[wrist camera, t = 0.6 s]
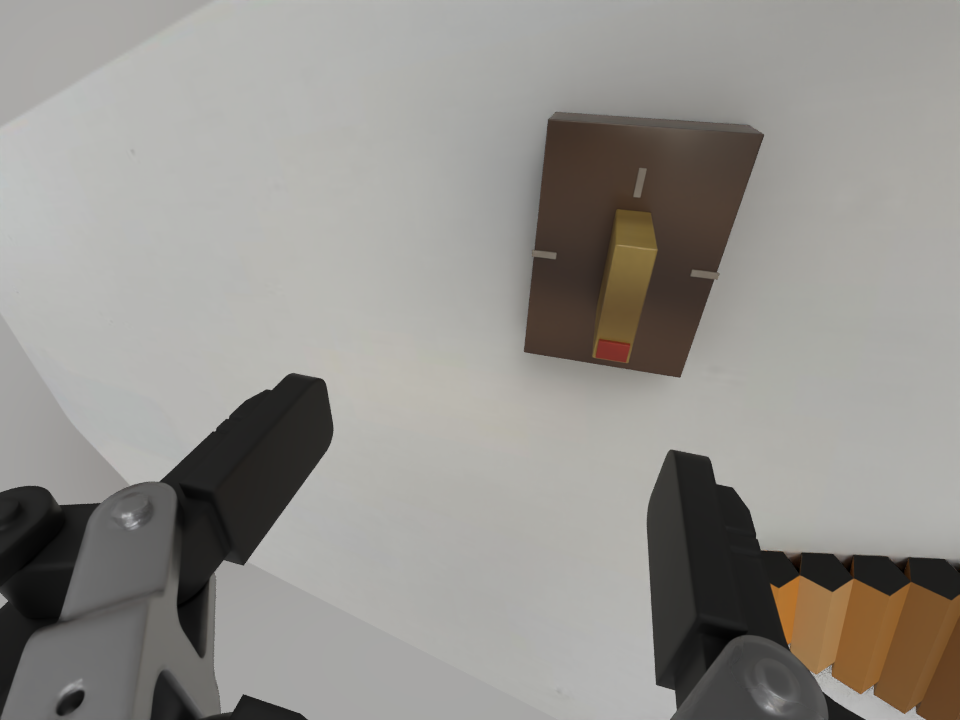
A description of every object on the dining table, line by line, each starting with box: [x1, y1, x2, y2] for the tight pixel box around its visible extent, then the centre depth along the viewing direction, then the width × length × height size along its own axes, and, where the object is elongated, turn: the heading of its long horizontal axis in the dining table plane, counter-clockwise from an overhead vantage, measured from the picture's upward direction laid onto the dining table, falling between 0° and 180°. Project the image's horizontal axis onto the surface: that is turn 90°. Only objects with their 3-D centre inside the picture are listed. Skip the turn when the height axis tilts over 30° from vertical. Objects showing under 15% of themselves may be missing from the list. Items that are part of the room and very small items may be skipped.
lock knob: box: [592, 209, 658, 363], centre depth 24 cm, size 6×2×6 cm, turn 178°
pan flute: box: [761, 551, 960, 720], centre depth 41 cm, size 25×3×25 cm
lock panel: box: [524, 112, 764, 378], centre depth 27 cm, size 14×10×3 cm
